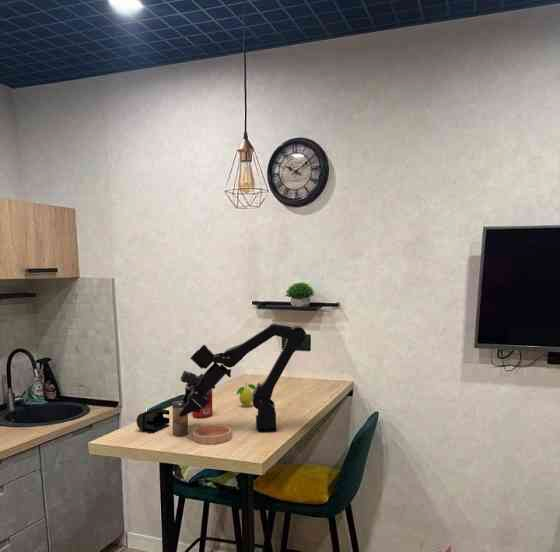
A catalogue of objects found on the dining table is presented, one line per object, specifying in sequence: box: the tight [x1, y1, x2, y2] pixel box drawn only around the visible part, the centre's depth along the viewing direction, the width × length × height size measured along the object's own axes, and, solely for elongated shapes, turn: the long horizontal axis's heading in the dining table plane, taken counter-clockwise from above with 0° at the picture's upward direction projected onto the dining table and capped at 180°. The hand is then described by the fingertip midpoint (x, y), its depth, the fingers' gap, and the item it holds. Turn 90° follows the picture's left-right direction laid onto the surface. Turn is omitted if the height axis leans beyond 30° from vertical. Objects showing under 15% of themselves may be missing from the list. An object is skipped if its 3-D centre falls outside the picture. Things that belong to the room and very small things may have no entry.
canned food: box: [191, 388, 213, 419], centre depth 186 cm, size 8×8×11 cm
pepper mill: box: [172, 399, 189, 438], centre depth 165 cm, size 5×5×11 cm
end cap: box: [135, 406, 170, 434], centre depth 171 cm, size 10×7×7 cm
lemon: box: [236, 383, 257, 407], centre depth 199 cm, size 7×6×10 cm
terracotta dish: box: [192, 424, 233, 446], centre depth 160 cm, size 13×13×2 cm
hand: (179, 412), depth 165 cm, fingers open, 9 cm apart
